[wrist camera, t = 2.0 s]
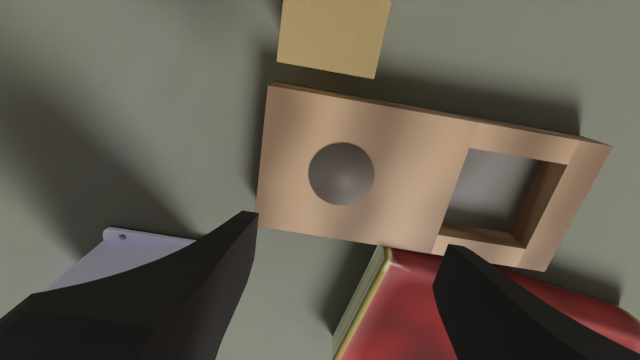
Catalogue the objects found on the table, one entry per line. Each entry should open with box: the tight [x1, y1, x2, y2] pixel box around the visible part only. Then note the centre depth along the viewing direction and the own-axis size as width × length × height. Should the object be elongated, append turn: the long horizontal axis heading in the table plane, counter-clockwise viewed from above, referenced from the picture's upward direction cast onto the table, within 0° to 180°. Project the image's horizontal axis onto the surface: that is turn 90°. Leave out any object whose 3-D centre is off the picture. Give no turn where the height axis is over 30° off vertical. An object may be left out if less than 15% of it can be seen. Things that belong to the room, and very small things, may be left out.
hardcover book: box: [333, 245, 640, 360], centre depth 25 cm, size 12×21×4 cm, turn 71°
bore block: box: [255, 82, 613, 272], centre depth 20 cm, size 20×9×3 cm, turn 80°
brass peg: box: [277, 0, 392, 79], centre depth 15 cm, size 4×4×7 cm
